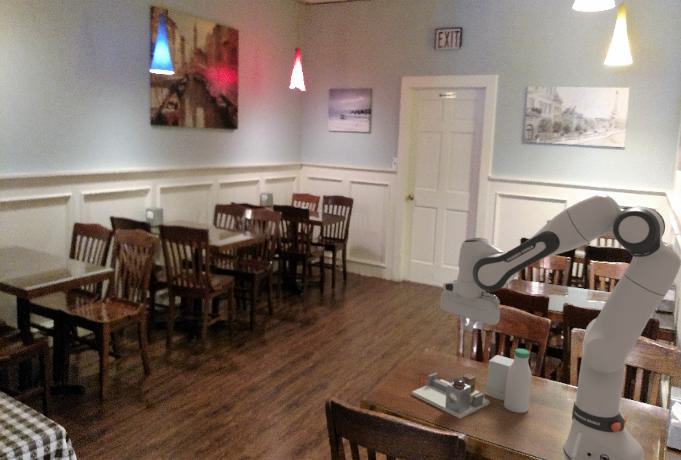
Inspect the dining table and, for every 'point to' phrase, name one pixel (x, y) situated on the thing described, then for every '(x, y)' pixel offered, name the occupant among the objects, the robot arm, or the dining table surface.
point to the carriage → (471, 382)
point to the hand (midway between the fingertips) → (467, 330)
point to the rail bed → (437, 396)
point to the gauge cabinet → (458, 398)
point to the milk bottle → (518, 383)
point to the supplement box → (497, 376)
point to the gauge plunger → (459, 383)
